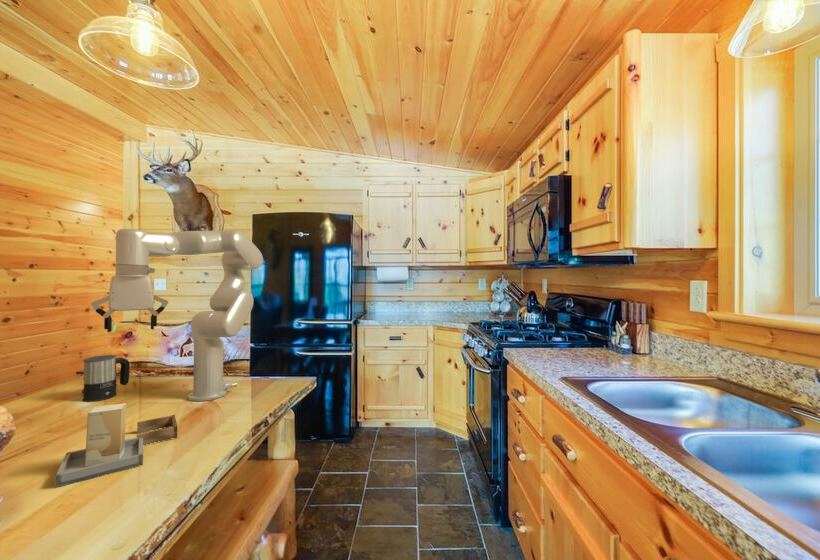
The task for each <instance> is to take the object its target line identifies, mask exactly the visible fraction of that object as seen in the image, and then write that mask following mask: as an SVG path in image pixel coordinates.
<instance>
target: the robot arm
mask: <svg viewBox="0 0 820 560" xmlns="http://www.w3.org/2000/svg"><path fill="white" fill-rule="evenodd" d="M216 253H217V254H218V253H222V255H221V265H222V267H223V268H222V269H223V274H224V276H223V279H222V281H221V282H220V285H218V287H217V288H216V290H215V291H214V293H213V294H212V296H211V298H210V302H209V307H210V309H211V310H204V311H200V312H198V313H196V314H195V315H194V316H193V317H192V319H191V321H190V330H191V334H192V335H191V336H192V340H193V384H192V385H193V386H192V387H193V391H191V392H190V393H188V395H187V398H188V400H189V401H192V402H204V401H211V400H212V401H213V400H216V399H219V398H222V397H224V396H226V395H228V389H229V388H231V389H232V388H236V387H237V386H238V383H237V381H227V382H225V380H224V344H223V341H222V339H221V338H233V337H235V336H237V335H238V333H239V332H240V331H241V329H242V327H243V326H244V325H245V323H246V320H248V317H249V315H250V314H251V312H252V310H253V308H254V295H253V293H251V291H249V290H248V289H245V287H246V284H247V283H246V279H245V277H244V274H243V270H248V271H250V270H251V271H252V270H258V269H259V268H261V266H262V265H263V264H264V257H263V254H262V252H261V251H260V249H259V248H258V247H257V245H255V244H254V242H253V241H252V240H250V238H249V237H248V236H247V235H246V234H244V232H242V231H240V230H236V229H235V230H234V229H233V230H232V229H228V230H225V229H224V230H188V231H187V230H186V231H176V232H154V231H152V232H151V231H146V230H141V229H135V228H133V229H132V228H120V229H118V230H117V231H116V233H115V264H114V265H115V272H114V273H115V274H114V276H113V275H112V276H111V279H110V282H109V284H110V285H109V291H108V295H107V296H104V297H102V298H100V299H97V300H95V301H92V302H91V303H90V305H91V307H92V308H93V309H94V311H95V312H96V313H97V314H99V316H102V317H103V318H104V319H103V321H104V323H103V324H104V325H103V326H104V327H103V328H104V330H107V331H106V332H107V333H111V332H112V330H113V329H112V325H113V323H112V321H113V319H112V318H113V317H112V314H113V313H114V312H124V311H129V312H130V311H146V310H147V311H149V313H151V315H150V330H155V327H157V325H158V323H157V322H158V321H157V320H158V318H157V317H158V315H160V313H162V312H163V311H164V310H165V309H166V307H167V306H168V304H169V301H168V299H164V298H162V297H160V296H156V295H155V293H154V291H155V290H154V282H153V277H152V276H149V274H155V273H156V272H155V271H156V270H155V269H156V268H153V267H150V261H149V259H150V258H151V257H152V258H154V257H156V258H158V257H162V258H163V257H164V258H165V257H171V256H173V255H175V256H176V255H178V256H179V255H180V256H194V255H195V256H198V255H209V254H216ZM106 302H108V303H107V304H108V310H107V311H105V310H104V309H102V308H101V306H100V305H102V304H104V303H106ZM155 302H158V303H161V304H160V306H159V307H158V308H157V309H155V308H154V304H155Z"/></svg>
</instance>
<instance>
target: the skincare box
mask: <svg viewBox="0 0 820 560" xmlns="http://www.w3.org/2000/svg"><path fill="white" fill-rule="evenodd" d="M126 418H127V403H126V402H125V403H118V404H115V403H114V404H108V405H100V406H93V407H91V409H90V410H89V411H88V412H87V420H86V421H87V422H86V423H87V424H86V439H85V449H86V456H85V467H87V466H92V465H97V464H101V463H105V462H109V461H114V460H118V459H121V457H122V456H123V454H124V445H125V440H126V424H127V423H126V422H127V419H126Z"/></svg>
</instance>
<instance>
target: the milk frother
mask: <svg viewBox="0 0 820 560" xmlns="http://www.w3.org/2000/svg"><path fill="white" fill-rule="evenodd" d="M82 361H83V389H81V390H82V391H81V393H82V394H83V398H82V402H85V401H86V402H87V403H90V402H91V403H92V402H98V401H99V402H100V401H105V400H107V399H111V398H113V397H116V396H117V391H116V390H117V364H119V365H120V372H119V373H120V375H119V376H120V377H119V384H120V385H122V386H127V385H128V384H129V380H130V379H129V378H130V369H131V368H130V367H131V363H130V361H129V360H128V359H127V358H124V357H117V355H115V354H104V355H96V356H95V355H94V356H90V357H89V356H88V357H85V358H83V359H82Z"/></svg>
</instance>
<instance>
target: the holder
mask: <svg viewBox="0 0 820 560" xmlns="http://www.w3.org/2000/svg"><path fill="white" fill-rule="evenodd" d="M136 423H137V425H136V427H137V428H136V429H137V430H136V431H137V432H136V438H139V437H143V445H145V446H147V445H146V444H149V445H151V444H150V443H153V444H155V443H154V442H157V443H159V442H158V441H162V440H166V439H170V440H172V439H171V438H175V439H178V423H177V420H176V414H173V415H167V416H162V417H157V418H151V419H146V420H141V421H137V422H136ZM169 426H172V427H169ZM164 427H167V428H164ZM159 428H162V429H159ZM156 429H157V430H156ZM151 430H153V431H151ZM147 431H148V432H147ZM142 432H143V433H142ZM138 433H139V434H138ZM166 441H167V440H166ZM162 442H163V441H162Z"/></svg>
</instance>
